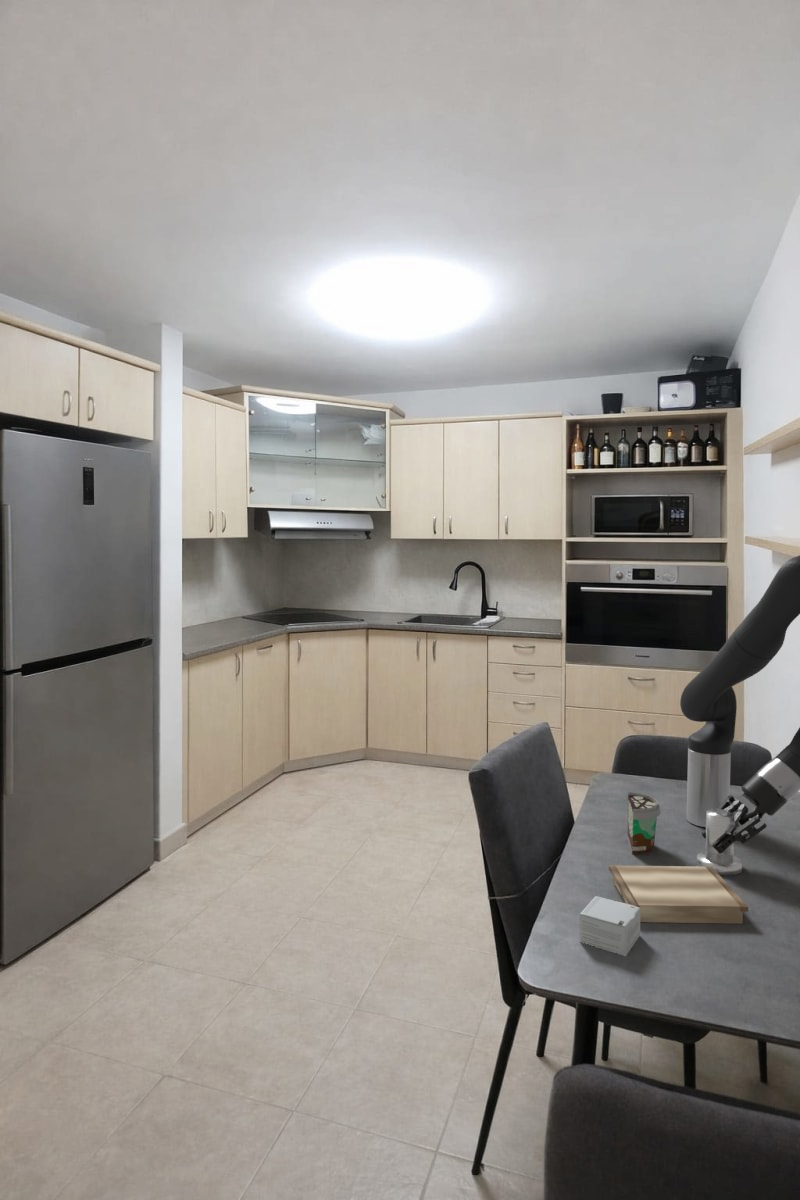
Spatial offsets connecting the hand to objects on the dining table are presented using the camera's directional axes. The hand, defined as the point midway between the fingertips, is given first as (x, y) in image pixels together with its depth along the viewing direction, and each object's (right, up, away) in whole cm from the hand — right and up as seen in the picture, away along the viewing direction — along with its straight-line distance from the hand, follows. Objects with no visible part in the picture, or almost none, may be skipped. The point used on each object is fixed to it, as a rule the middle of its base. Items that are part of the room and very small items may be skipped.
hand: (710, 843), depth 149 cm
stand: (-13, -6, -14) cm, 20 cm away
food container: (-10, -4, +11) cm, 15 cm away
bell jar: (+2, -5, 0) cm, 5 cm away
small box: (-28, -7, -27) cm, 40 cm away
